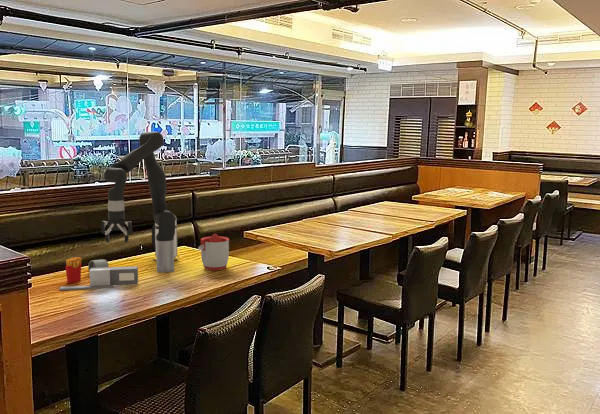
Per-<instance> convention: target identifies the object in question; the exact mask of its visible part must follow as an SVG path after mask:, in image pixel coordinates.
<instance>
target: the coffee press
mask: <svg viewBox="0 0 600 414" xmlns="http://www.w3.org/2000/svg"><path fill="white" fill-rule="evenodd" d="M174 216H175V235H174V260H176V261H179V260H178V259H180V257H179V255H178V224H177V221H178V218H177V216H176V215H175V214H174ZM151 226H152V227H151V245H152V248H153V249H154V250H155V251H154V252H155V255H154V257H153V261H155V258H156V235H157V234H158V231H159V226H158V225H157V224H156V223H155V222H154V223H153V225H151Z"/></svg>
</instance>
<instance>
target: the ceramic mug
mask: <svg viewBox="0 0 600 414" xmlns="http://www.w3.org/2000/svg"><path fill="white" fill-rule="evenodd" d="M104 267H110V265H109V262H108V261H107V259H95V260H94V259H93V260H92V259H91V260H90V261H89V262H88V265H87V268H88V272H89V273H90V269H91V268H104Z"/></svg>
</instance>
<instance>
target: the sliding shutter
mask: <svg viewBox="0 0 600 414" xmlns="http://www.w3.org/2000/svg"><path fill="white" fill-rule="evenodd" d="M89 285H90V286H104V285H110V269H99V270H90V272H89Z"/></svg>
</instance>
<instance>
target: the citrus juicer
mask: <svg viewBox="0 0 600 414" xmlns="http://www.w3.org/2000/svg"><path fill="white" fill-rule="evenodd" d="M229 243H230V238H229V237H227V236H220V235H218V234H217V233H212V235H210V236H209V235H208V236H203V237H202V238H200V245H199V246H198V247H197V249H198V251H200V252H201V253H200V256H201V262H202V265H203V268H204V270H206V271H210V270H211V271H210V272H216V270H218V271H223V270H222V269H224V270H225V269H226V268H227V266H228V262H229V255H230V252H229V251H230V244H229Z"/></svg>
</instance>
